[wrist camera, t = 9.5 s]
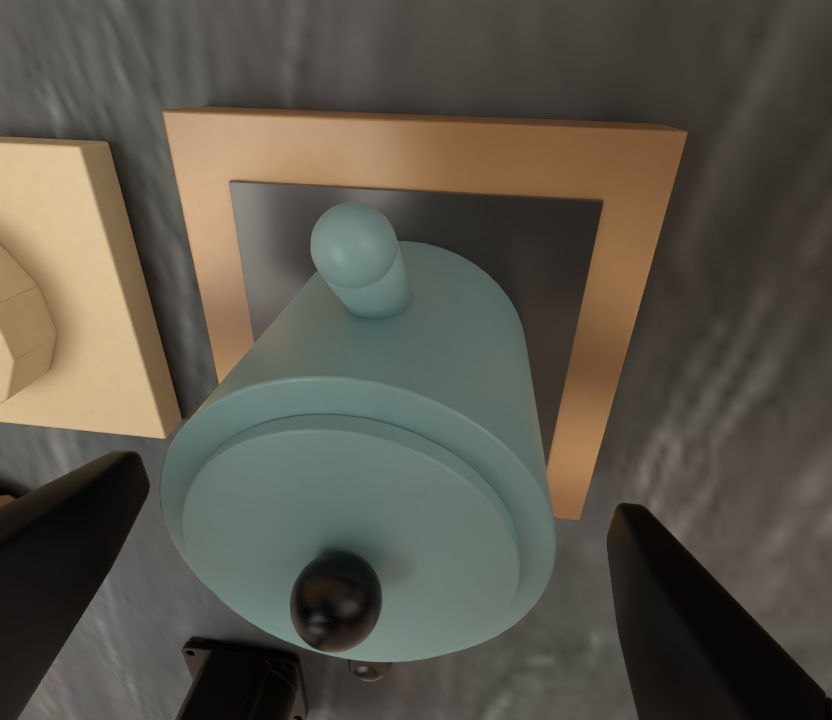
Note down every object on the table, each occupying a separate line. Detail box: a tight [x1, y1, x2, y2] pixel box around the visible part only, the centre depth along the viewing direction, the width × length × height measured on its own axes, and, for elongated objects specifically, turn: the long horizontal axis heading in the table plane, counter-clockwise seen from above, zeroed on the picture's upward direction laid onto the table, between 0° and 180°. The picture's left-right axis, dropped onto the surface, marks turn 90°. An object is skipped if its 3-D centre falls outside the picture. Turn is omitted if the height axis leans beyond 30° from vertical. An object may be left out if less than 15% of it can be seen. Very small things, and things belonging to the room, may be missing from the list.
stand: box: [162, 106, 687, 520], centre depth 15 cm, size 12×12×2 cm
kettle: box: [159, 202, 557, 681], centre depth 11 cm, size 11×7×8 cm, turn 178°
